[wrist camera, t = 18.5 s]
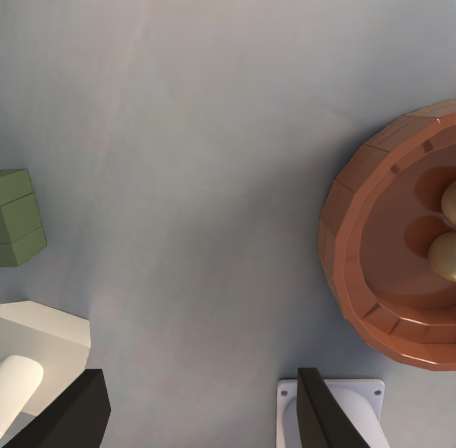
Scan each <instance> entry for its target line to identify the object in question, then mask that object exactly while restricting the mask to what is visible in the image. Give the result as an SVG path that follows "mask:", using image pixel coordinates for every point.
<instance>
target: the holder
mask: <svg viewBox="0 0 456 448" xmlns="http://www.w3.org/2000/svg"><path fill="white" fill-rule="evenodd" d="M41 225H42V223H41V219H40V215H39V211H38V207H37V203H36V199H35V195H34V193H33V189H32V185H31V181H30V177H29V173H28V170H27V169H18V170H0V267H19V266H20V265H22V264H23V263H25V262H26V261H27V260H29V259H30V258H31V257H33V256H34V255H36V254H37V253H38V252H40V251H41V250H42V249H44V248H45V247H47V243H46V239H45V235H44V231H43V227H42V226H41Z"/></svg>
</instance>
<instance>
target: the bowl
mask: <svg viewBox="0 0 456 448" xmlns="http://www.w3.org/2000/svg"><path fill="white" fill-rule="evenodd" d="M454 181H456V99H448V100H444V101H441V102H438V103H435V104H433V105H430V106H427V107H424V108H422V109H419V110H416V111H413V112H410V113H408V114H405V115H402V116H401V117H399V118H398V119H397V120H395V121H394V122H392V123H391V124H390V125H388V126H387V127H385V128H384V129H383V130H381V131H380V132H378V133H377V134H376V135H374V136H373V137H371V138H370V139H369V140H367V141H366V142H364V144H362V145H361V146H360V148H359V149H358V150H357V151H356V153H355V154H354V155H353V156H352V158H351V159H350V160H349V161H348V163H347V164H346V165H345V166H344V168H343V169H342V170H341V171H340V173H339V174H338V175H337V176H336V178H335V179H334V181H333V184H332V186H331V189H330V191H329V194H328V196H327V199H326V201H325V204H324V206H323V209H322V211H321V214H320V219H319V236H318V255H319V259H320V262H321V265H322V269H323V272H324V275H325V278H326V282H327V284H328V286H329V288H330V290H331V292H332V294H333V296H334V298H335V300H336V302H337V304H338V306H339V308H340V310H341V312H342V314H343V316H344V317H345V318H346V319H347V321H348V322H349V323H350V325H351V326H352V327H353V328H354V330H355V331H356V332H357V333H358V335H359V336H360V337H361V339H362V340H363V341H364V342H365V343H366V344H368V345H370V346H371V347H373V348H374V349H376V350H378V351H379V352H381V353H382V354H384V355H386V356H387V357H389V358H391V359H392V360H394V361H396V362H399V363H403V364H407V365H411V366H415V367H419V368H422V369H426V370H430V371H456V282H451V281H448V280H445V279H443V278H442V277H440V276H439V275H437V274H436V273H435V272H434V271H433V269H432V268H431V266H430V264H429V262H428V249H429V247H430V245H431V243H432V242H433V241H434V240H435V239H436V238H437V237H438V236H440V235H442V234H444V233H447V232H451V231H456V225H454V224H452V223H451V222H450V221H449V220H448V219H447V218H446V217H445V215H444V213H443V211H442V207H441V199H442V196H443V193H444V192H445V190H446V189H447V188H448V186H449V185H450V184H452V183H453V182H454Z"/></svg>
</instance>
